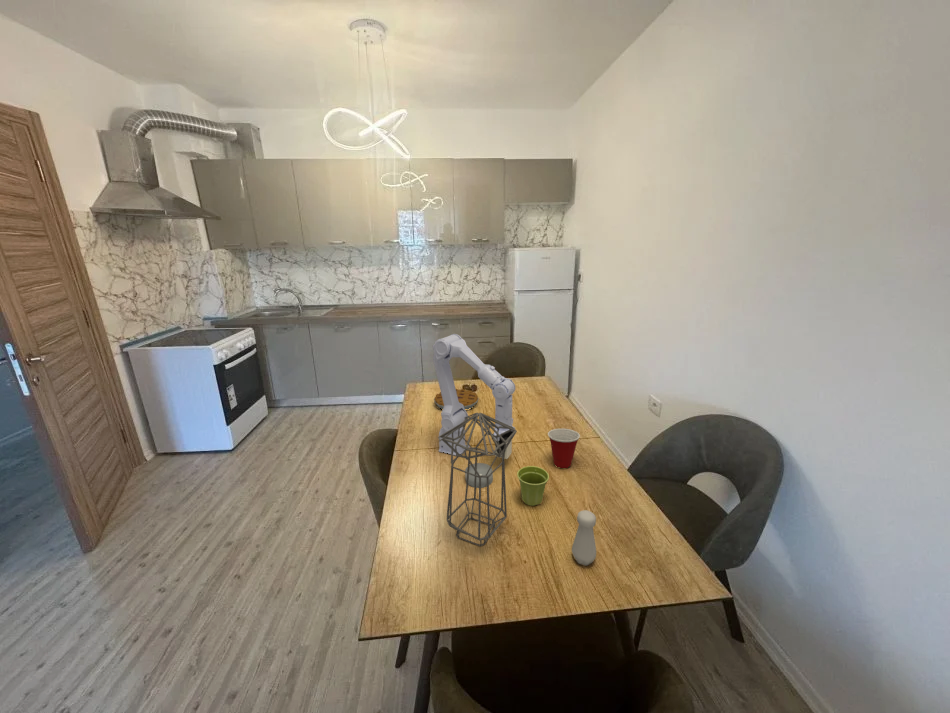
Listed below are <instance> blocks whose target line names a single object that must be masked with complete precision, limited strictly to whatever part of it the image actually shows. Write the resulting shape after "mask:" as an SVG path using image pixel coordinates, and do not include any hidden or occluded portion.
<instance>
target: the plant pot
mask: <svg viewBox="0 0 950 713" xmlns="http://www.w3.org/2000/svg"><path fill="white" fill-rule="evenodd" d="M516 474H517V479H518V480H519V486H520V492H521V500H522V501H523V502H524V504H526V505H528V506H531V507H532V506H534V507H535V506H536V505H540V504H542V502H543V498H544V494H545V488H546V485H547V483H548V481H549V479H550V474H549V472H547V470H545V469H544V468H542V467H539V466H536V465H527V466H523V467H522V468H519V469H518V471H517V473H516Z"/></svg>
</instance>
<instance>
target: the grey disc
mask: <svg viewBox="0 0 950 713" xmlns="http://www.w3.org/2000/svg"><path fill="white" fill-rule="evenodd" d="M472 464H473V465H474V467H475V463H472ZM490 466H491V465H489V464H487V463H483V462H477V471H478V473H479V475H486V473H487V472H488V470H489V468H490ZM467 469H468V466H467V467H466V468H465V470H464V471H466V472H467ZM492 471H493V468H492V467H491V469H490V471H489V472H488V474H487V476H488V475H489V474H490V473H491V472H492ZM469 473H472V474H474V475H475V471H474V469H473V468H472V466H471V464H470V467H469ZM464 474H465V482H466V481H467V473H465V472H464ZM493 474H494V473H493ZM493 474H492V475H491V476H490V477H489V486H490V485H491V484H492V483H493V480H494V478H493V477H494V476H493ZM477 476H478V475H477ZM474 480H475V476H473V475H470V474H469V480H468V487H472V488H474ZM482 488H487V478H481V489H482ZM476 489H479V478H478V477H476Z"/></svg>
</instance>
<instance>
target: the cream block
mask: <svg viewBox="0 0 950 713" xmlns="http://www.w3.org/2000/svg"><path fill="white" fill-rule="evenodd" d="M507 443H508V442H507ZM507 443H506V444H507ZM512 447H513V439H512V440H511V442H510V444H509V445H508V447H507V448H506V451H505V458H504V460H505V459H506V460H507V459H508V458H509V457H510V456H511V454H512V452H513V450H512V449H513V448H512ZM495 449H496V446H495V445H494V450H495ZM496 453H497V451H496ZM497 454H498V453H497ZM494 456H495V457H496V455H494ZM501 456H502V455H501ZM497 458H499V457H498V456H497ZM500 458H501V459H502V457H500Z"/></svg>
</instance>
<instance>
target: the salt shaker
mask: <svg viewBox="0 0 950 713" xmlns="http://www.w3.org/2000/svg"><path fill="white" fill-rule="evenodd" d="M576 521H577V524H578V526H577V527H578V528H577V530H576V532H575V533H576V534H575V537H574V540H573V544H572V546H571V552H572V553H571V554H572V555H573V558H574V559H575V561H576V562H577V564H578V565H581V566H585V567H586V566H589V565H591V564H592V563H593V562H594V560H595V559H596V557H597V546H596V540H595V539H596V538H595V533H594V532H595V531H594V527H595V526H596V524H597V517H596V515H595V514H594V513H593V512H592V511H590V510H587V509H584V510H580V511H579V512H578V513H577V517H576Z"/></svg>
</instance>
